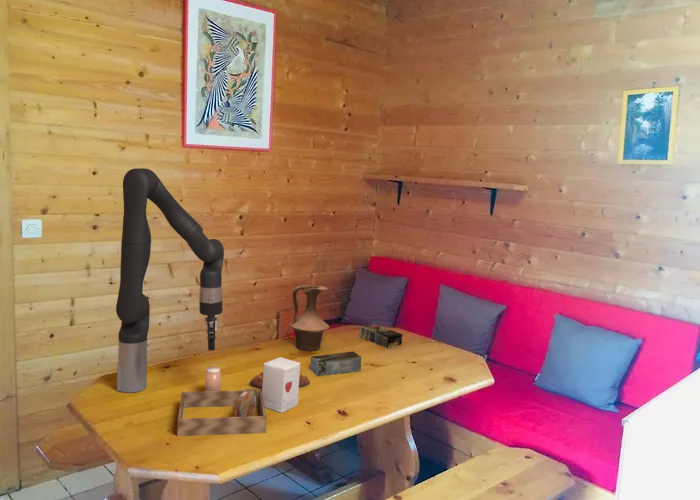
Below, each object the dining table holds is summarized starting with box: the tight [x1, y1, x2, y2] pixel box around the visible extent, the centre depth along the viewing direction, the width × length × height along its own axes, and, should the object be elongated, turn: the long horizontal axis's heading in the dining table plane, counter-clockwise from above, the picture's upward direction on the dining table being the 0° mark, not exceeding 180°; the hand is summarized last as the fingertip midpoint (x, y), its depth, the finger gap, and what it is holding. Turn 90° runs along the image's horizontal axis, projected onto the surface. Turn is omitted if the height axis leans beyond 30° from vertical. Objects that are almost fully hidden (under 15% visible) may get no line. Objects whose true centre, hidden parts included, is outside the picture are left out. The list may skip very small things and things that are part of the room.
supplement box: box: [261, 356, 301, 414], centre depth 200 cm, size 9×9×15 cm
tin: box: [232, 388, 258, 417], centre depth 190 cm, size 15×3×8 cm, turn 168°
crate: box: [176, 389, 267, 437], centre depth 188 cm, size 26×21×5 cm
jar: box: [204, 366, 222, 391], centre depth 205 cm, size 5×5×10 cm
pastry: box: [249, 371, 311, 389], centre depth 219 cm, size 17×15×8 cm
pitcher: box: [288, 284, 330, 352], centre depth 261 cm, size 18×17×28 cm
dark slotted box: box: [359, 323, 403, 349], centre depth 279 cm, size 20×10×6 cm, turn 40°
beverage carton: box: [310, 350, 362, 377], centre depth 237 cm, size 8×19×7 cm, turn 118°
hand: (211, 346), depth 204 cm, fingers open, 8 cm apart
